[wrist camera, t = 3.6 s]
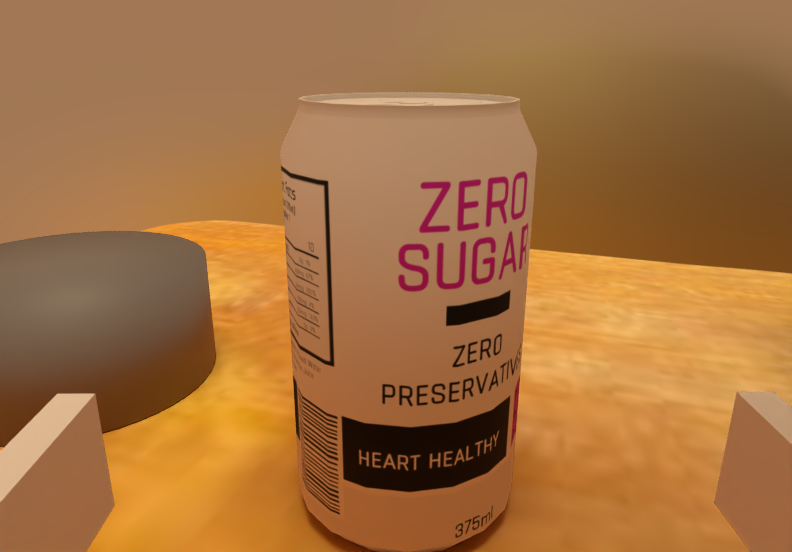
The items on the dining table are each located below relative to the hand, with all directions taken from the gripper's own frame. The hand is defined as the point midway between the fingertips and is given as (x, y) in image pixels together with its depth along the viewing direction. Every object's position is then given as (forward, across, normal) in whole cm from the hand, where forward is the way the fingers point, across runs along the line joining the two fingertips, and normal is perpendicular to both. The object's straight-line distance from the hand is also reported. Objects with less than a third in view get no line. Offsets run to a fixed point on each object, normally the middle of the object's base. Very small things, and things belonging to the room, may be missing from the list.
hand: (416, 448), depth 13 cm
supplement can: (+10, 0, -9) cm, 13 cm away
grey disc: (+20, -17, -8) cm, 27 cm away
